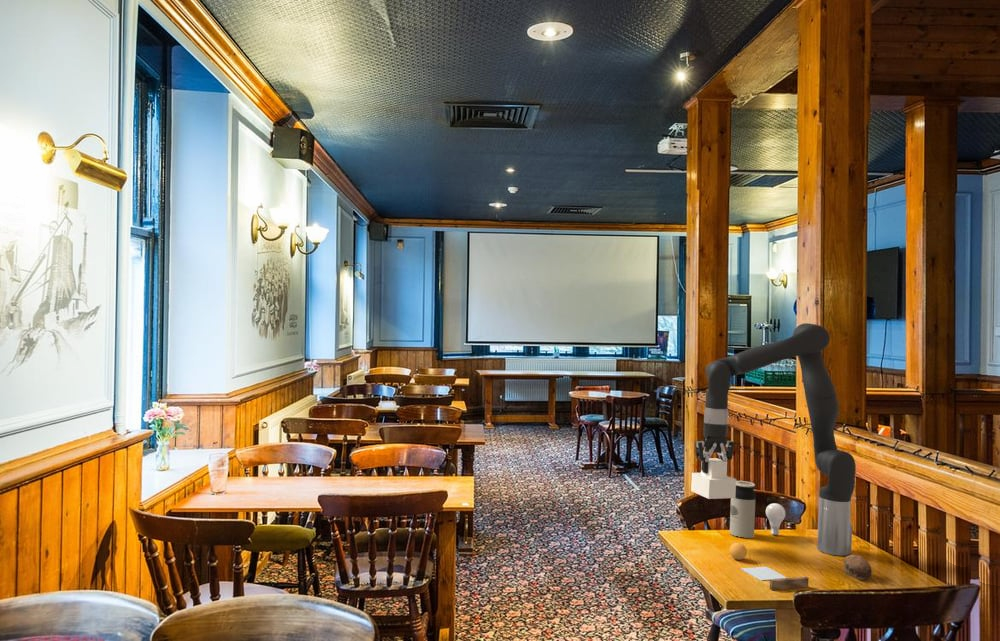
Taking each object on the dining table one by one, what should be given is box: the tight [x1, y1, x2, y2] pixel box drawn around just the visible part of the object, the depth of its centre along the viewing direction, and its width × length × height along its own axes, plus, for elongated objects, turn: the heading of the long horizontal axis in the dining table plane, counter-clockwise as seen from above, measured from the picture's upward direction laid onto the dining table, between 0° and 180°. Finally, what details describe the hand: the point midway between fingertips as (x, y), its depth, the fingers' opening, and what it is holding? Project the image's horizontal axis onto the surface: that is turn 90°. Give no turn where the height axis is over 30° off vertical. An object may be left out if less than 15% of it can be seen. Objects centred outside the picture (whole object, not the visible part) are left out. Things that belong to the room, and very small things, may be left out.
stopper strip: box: [769, 576, 810, 591], centre depth 182 cm, size 12×1×2 cm, turn 106°
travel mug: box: [729, 480, 756, 539], centre depth 228 cm, size 8×8×18 cm
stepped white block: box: [690, 457, 737, 500], centre depth 217 cm, size 10×10×11 cm
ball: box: [729, 542, 748, 561], centre depth 203 cm, size 5×5×5 cm
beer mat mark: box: [740, 566, 788, 582], centre depth 192 cm, size 9×9×1 cm
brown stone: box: [843, 554, 873, 581], centre depth 193 cm, size 8×8×6 cm
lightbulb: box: [765, 503, 786, 536], centre depth 230 cm, size 6×6×11 cm
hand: (713, 472), depth 217 cm, fingers closed on stepped white block, 5 cm apart
